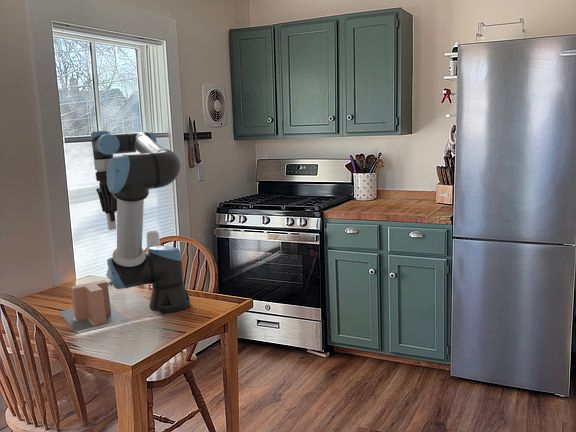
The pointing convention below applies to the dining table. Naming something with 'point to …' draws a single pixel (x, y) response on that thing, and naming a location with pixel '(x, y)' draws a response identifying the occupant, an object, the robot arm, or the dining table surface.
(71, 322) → the slate board
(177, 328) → the dining table surface
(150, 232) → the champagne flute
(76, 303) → the t block
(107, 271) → the die
